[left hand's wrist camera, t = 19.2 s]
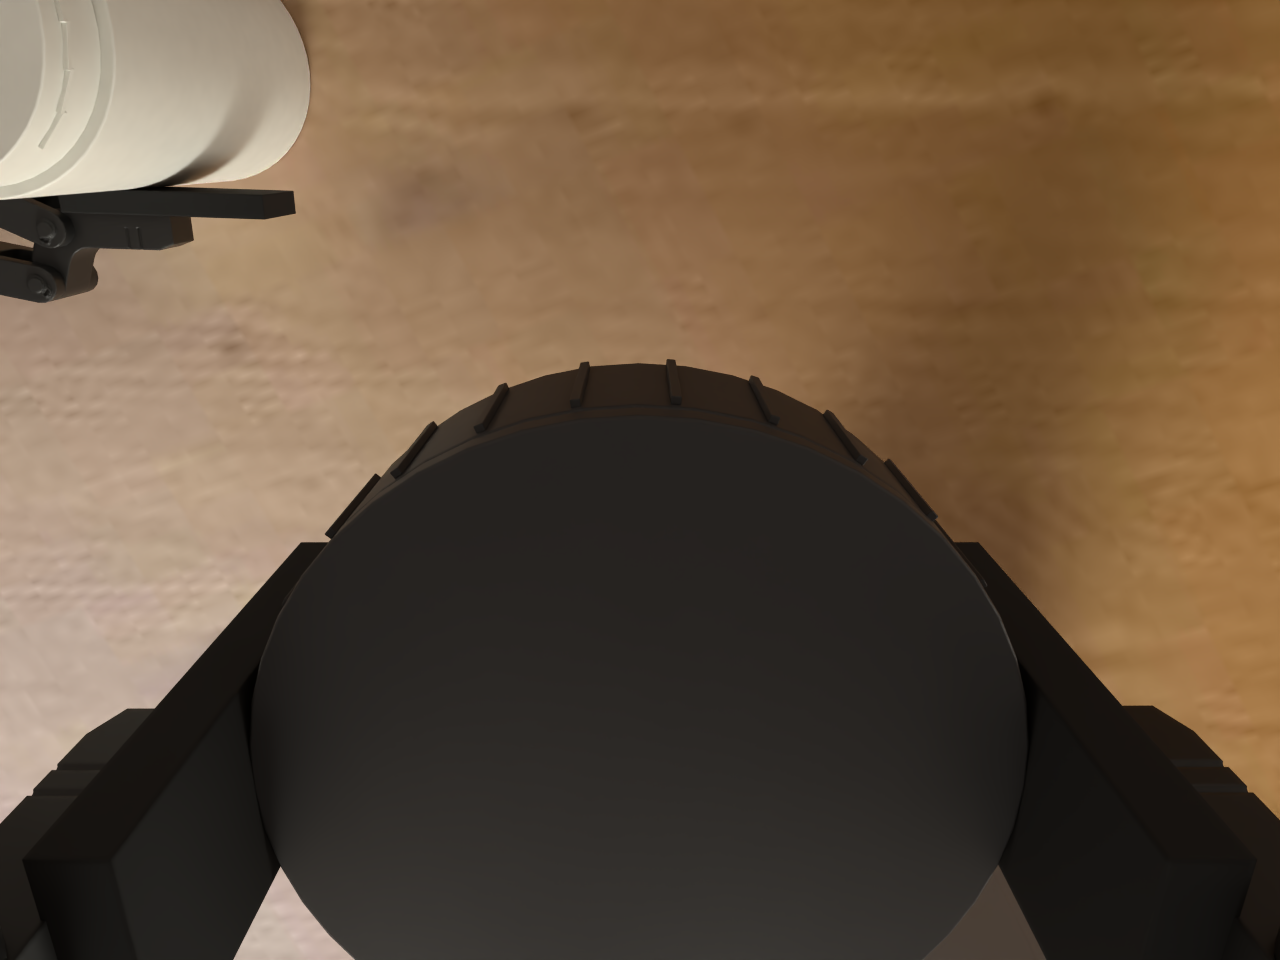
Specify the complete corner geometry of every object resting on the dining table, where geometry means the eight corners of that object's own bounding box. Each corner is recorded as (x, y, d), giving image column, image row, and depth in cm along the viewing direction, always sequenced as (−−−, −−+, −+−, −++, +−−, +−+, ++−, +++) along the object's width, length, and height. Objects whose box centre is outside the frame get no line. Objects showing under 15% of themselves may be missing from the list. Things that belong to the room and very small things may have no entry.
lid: (277, 853, 14) (204, 994, 11) (370, 271, 11) (294, 303, 8) (835, 966, 14) (872, 1119, 12) (1069, 456, 11) (1177, 531, 9)
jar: (313, -30, 32) (43, -175, 18) (308, 196, 35) (71, 232, 21) (91, -69, 32) (-375, -253, 17) (103, 163, 35) (-288, 174, 20)
